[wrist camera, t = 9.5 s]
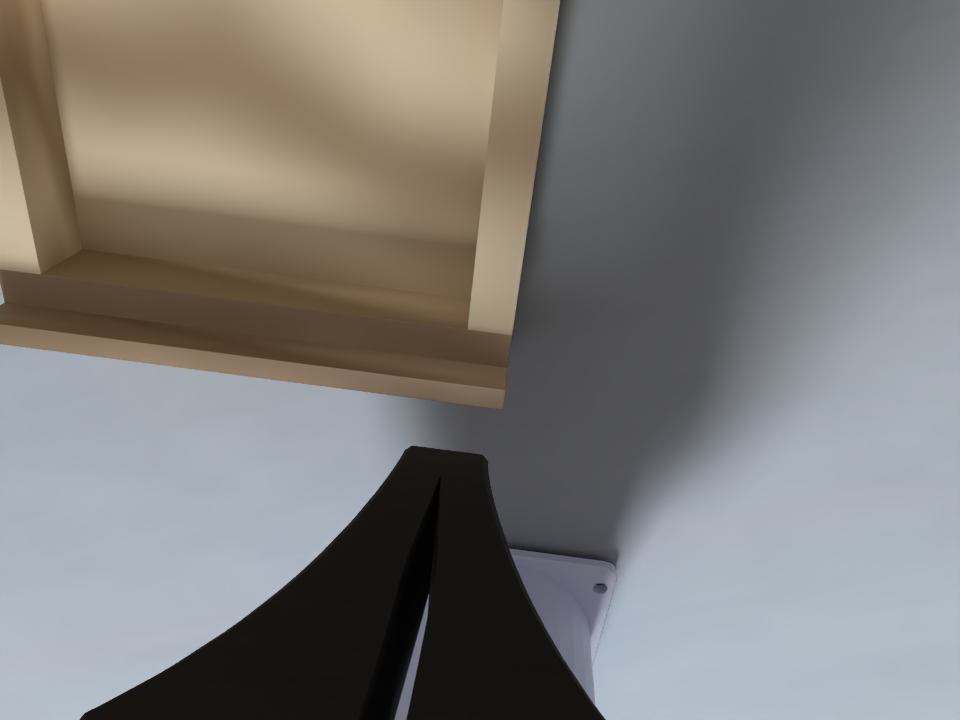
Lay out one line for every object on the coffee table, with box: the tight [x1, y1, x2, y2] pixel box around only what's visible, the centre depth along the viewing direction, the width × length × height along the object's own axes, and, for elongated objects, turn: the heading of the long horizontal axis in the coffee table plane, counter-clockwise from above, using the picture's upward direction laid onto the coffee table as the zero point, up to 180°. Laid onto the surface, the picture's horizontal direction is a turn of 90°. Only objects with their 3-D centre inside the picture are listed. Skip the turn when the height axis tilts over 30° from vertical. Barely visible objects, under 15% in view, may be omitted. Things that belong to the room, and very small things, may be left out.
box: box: [0, 0, 560, 410], centre depth 18 cm, size 12×14×4 cm
